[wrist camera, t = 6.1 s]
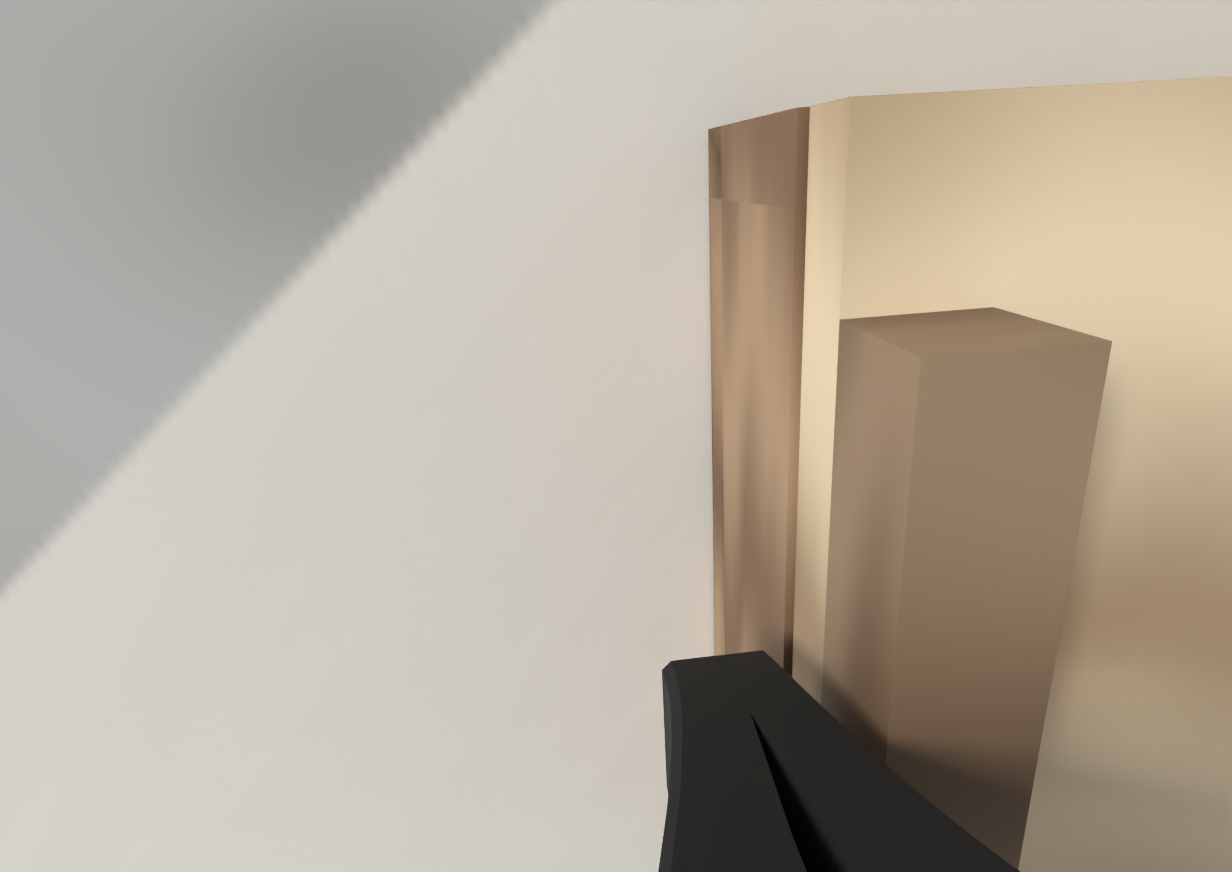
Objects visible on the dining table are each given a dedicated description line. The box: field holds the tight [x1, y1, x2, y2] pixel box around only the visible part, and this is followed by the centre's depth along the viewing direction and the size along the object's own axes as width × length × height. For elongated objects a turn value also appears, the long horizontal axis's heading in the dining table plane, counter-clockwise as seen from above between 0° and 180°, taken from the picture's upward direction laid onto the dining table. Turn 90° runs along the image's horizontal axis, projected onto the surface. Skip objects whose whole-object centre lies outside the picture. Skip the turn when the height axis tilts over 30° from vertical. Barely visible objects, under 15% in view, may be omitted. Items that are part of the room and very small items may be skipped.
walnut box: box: [708, 107, 810, 677], centre depth 12 cm, size 14×12×4 cm
